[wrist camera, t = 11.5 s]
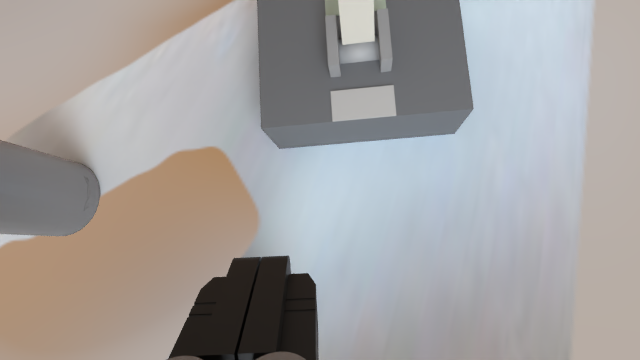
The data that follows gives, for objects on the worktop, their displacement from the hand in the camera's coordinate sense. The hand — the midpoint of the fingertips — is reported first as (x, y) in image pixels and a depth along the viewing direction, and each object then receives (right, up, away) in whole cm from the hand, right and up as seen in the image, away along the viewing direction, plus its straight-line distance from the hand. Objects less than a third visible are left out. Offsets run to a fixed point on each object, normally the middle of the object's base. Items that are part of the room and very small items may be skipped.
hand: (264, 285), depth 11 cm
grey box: (+6, +14, +35) cm, 38 cm away
